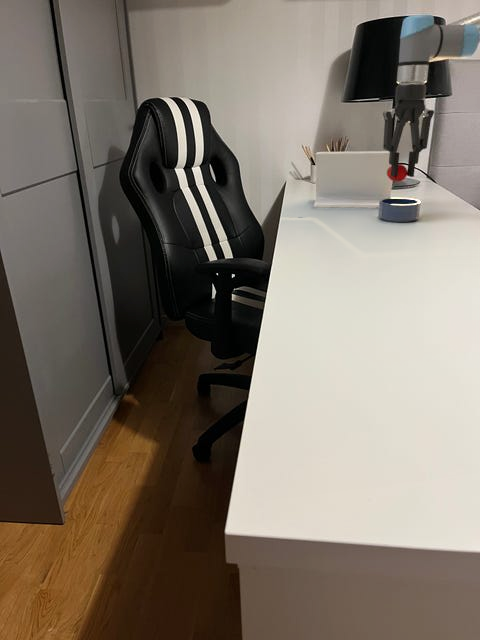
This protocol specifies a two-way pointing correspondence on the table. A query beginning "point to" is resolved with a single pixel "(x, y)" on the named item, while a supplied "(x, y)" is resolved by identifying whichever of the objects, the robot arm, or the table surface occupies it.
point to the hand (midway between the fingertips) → (402, 176)
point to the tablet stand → (352, 179)
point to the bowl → (399, 209)
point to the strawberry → (400, 175)
